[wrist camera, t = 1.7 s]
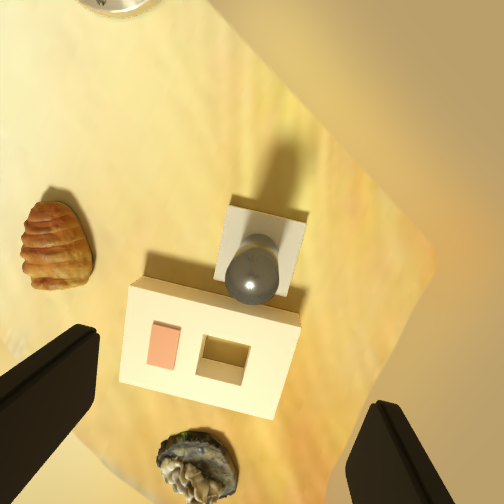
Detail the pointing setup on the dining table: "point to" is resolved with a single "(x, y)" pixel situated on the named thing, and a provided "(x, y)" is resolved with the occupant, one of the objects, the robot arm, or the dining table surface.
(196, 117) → the dining table surface
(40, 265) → the pastry
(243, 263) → the peg
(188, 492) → the grey rounded lumpy piece
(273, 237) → the pad
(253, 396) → the board
